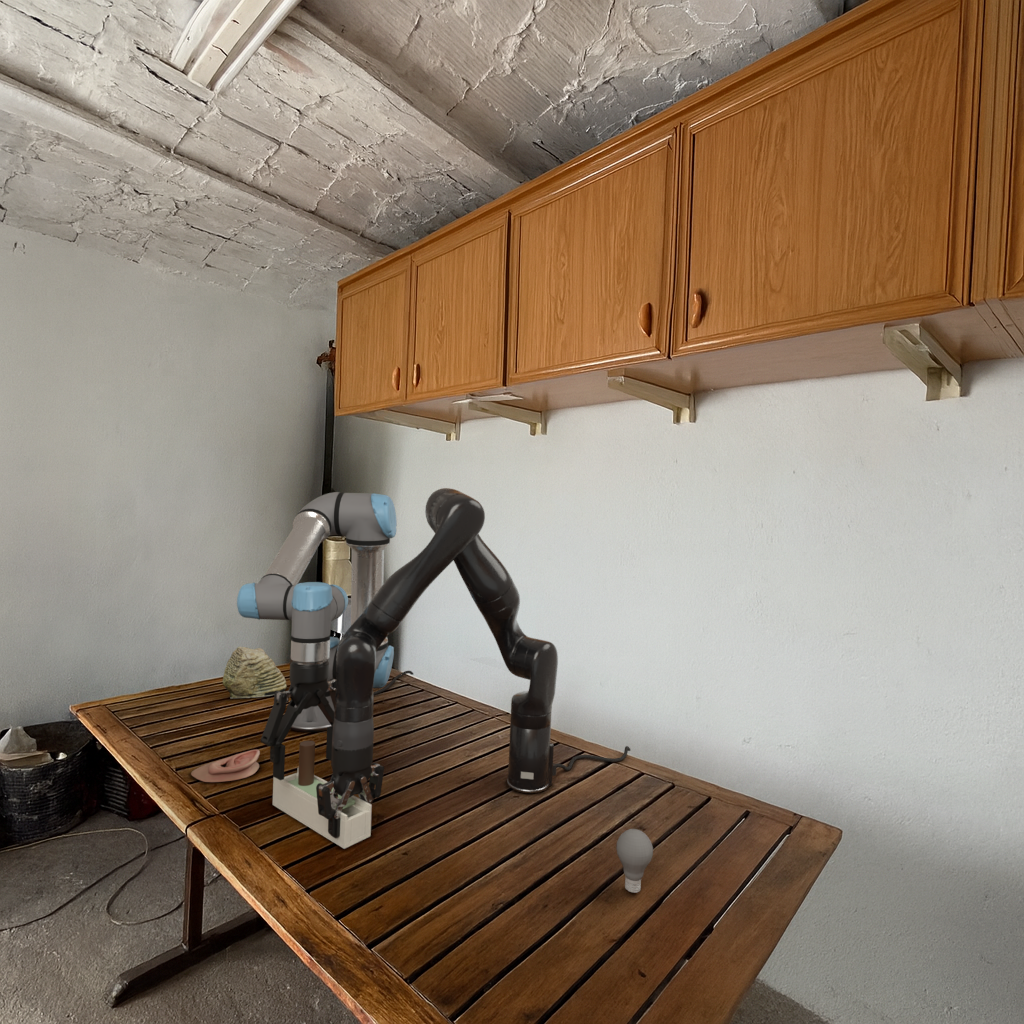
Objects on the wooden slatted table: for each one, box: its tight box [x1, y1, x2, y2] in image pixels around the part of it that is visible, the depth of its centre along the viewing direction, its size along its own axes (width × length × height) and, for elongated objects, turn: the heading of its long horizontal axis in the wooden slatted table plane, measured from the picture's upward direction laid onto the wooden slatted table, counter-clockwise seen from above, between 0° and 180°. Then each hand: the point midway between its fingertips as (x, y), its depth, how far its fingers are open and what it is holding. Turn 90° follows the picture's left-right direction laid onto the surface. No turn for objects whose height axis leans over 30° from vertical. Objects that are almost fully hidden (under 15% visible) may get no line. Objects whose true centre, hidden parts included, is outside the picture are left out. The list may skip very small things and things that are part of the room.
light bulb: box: [615, 828, 654, 894], centre depth 106 cm, size 6×6×10 cm
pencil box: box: [272, 766, 373, 850], centre depth 124 cm, size 24×6×6 cm, turn 51°
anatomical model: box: [190, 748, 261, 783], centre depth 143 cm, size 13×4×12 cm
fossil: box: [222, 646, 288, 699], centre depth 198 cm, size 9×18×15 cm, turn 132°
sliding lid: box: [288, 740, 355, 809], centre depth 124 cm, size 16×4×9 cm, turn 51°
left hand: (305, 768), depth 127 cm, fingers open, 11 cm apart
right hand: (349, 829), depth 118 cm, fingers closed on pencil box, 6 cm apart
